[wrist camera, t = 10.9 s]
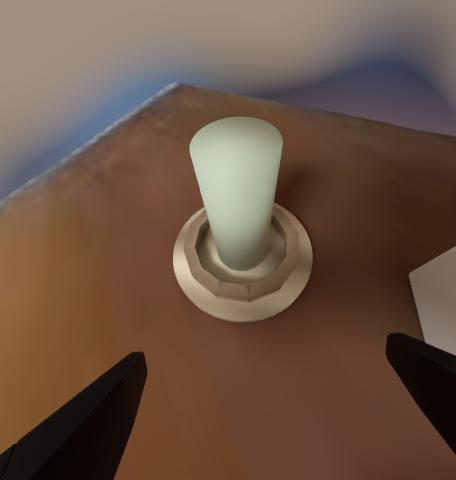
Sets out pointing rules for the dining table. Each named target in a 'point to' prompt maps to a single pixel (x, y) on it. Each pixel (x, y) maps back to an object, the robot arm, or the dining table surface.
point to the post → (238, 185)
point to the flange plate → (243, 282)
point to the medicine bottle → (437, 300)
